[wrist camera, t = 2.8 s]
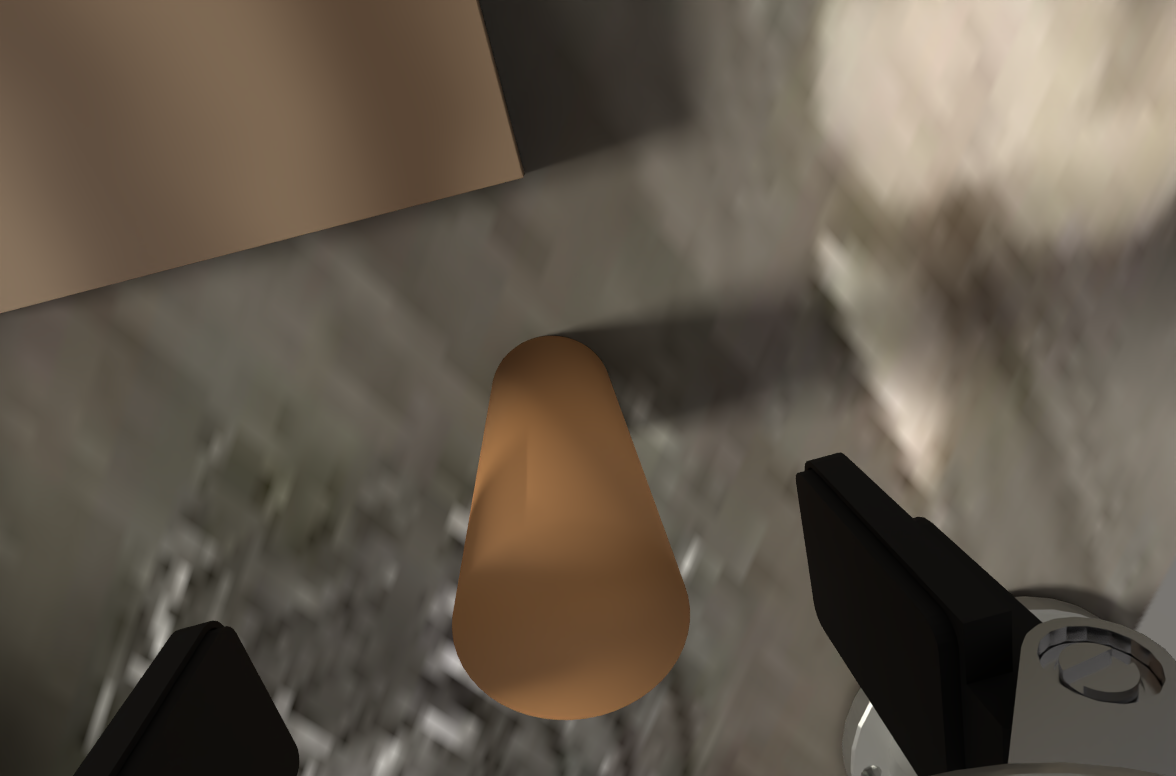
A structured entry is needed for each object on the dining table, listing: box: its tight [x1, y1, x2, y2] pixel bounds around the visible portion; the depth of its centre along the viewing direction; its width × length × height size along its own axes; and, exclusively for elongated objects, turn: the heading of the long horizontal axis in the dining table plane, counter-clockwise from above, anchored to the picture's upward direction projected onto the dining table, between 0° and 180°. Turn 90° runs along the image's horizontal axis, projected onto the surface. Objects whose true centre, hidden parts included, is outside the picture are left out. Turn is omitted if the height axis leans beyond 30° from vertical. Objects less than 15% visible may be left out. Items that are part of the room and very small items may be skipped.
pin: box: [452, 336, 690, 720], centre depth 17 cm, size 4×4×12 cm
